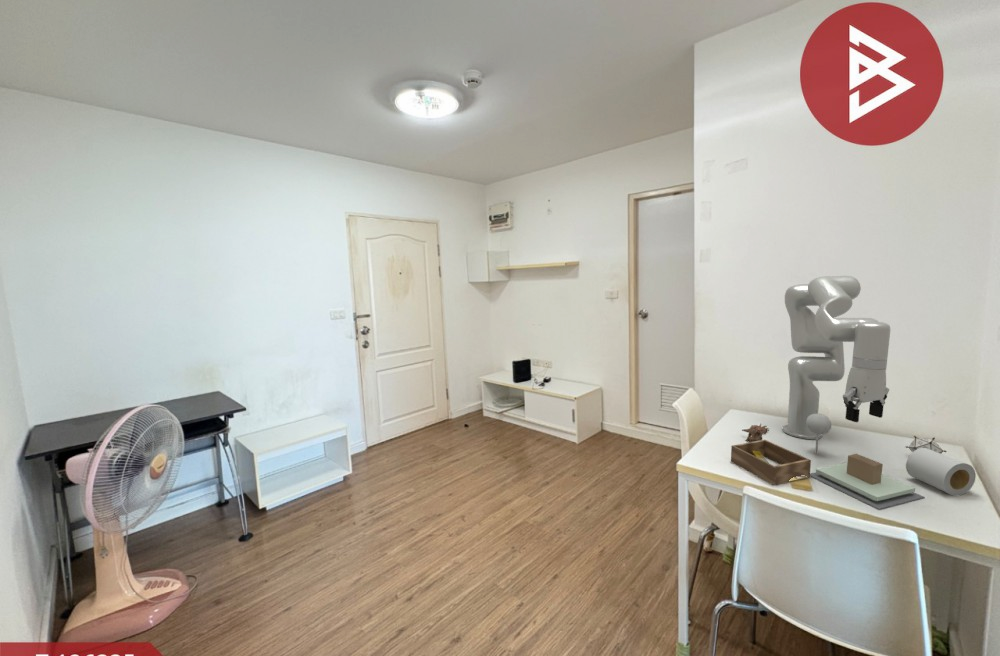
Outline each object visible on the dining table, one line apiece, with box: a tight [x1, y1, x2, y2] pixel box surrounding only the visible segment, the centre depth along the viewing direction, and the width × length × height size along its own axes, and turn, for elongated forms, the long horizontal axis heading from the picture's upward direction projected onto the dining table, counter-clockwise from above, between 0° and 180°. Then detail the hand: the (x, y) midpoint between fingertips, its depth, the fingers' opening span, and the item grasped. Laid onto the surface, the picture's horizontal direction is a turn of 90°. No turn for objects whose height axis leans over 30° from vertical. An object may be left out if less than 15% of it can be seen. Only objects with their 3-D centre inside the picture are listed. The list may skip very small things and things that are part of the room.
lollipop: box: [806, 413, 833, 455], centre depth 142 cm, size 7×7×15 cm
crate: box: [730, 439, 812, 486], centre depth 134 cm, size 15×17×6 cm
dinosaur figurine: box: [741, 423, 770, 443], centre depth 153 cm, size 14×6×9 cm, turn 173°
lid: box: [815, 453, 916, 501], centre depth 121 cm, size 15×17×8 cm
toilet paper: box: [905, 448, 977, 497], centre depth 119 cm, size 10×10×10 cm
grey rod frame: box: [905, 435, 948, 454], centre depth 135 cm, size 9×8×10 cm
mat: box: [810, 471, 925, 511], centre depth 122 cm, size 18×20×1 cm
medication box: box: [752, 451, 770, 464], centre depth 135 cm, size 12×3×4 cm, turn 164°
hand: (863, 418), depth 120 cm, fingers open, 9 cm apart
